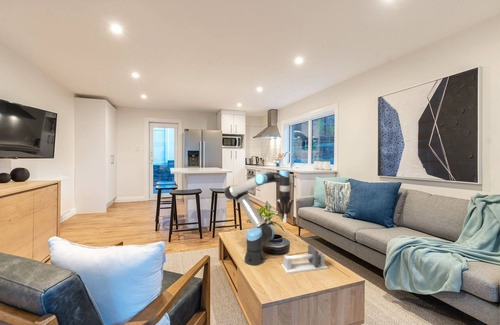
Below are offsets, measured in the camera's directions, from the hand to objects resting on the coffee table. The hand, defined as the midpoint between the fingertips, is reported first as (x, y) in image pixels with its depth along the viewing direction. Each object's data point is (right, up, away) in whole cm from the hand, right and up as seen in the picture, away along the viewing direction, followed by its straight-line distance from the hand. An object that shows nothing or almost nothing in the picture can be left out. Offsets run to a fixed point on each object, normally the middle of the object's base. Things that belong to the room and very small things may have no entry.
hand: (284, 222), depth 173 cm
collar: (+19, -28, -7) cm, 34 cm away
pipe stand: (+13, -30, -9) cm, 33 cm away
